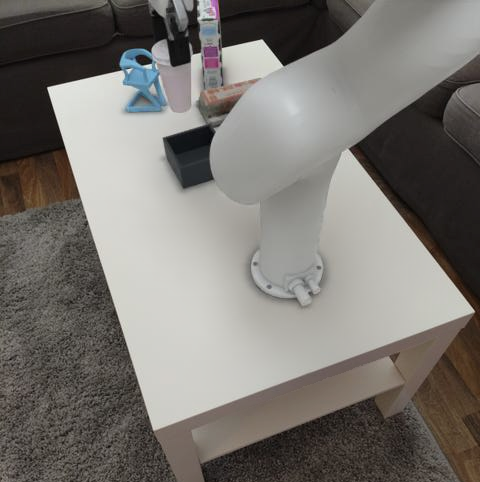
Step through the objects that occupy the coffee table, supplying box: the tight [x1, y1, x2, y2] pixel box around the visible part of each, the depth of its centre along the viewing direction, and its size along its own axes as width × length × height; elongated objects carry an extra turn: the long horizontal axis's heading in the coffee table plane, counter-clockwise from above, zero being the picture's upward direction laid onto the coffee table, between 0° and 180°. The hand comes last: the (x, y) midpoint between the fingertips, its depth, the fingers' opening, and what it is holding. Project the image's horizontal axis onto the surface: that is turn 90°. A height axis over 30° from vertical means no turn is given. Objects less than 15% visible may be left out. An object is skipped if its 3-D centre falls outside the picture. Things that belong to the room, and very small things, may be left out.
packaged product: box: [195, 77, 263, 128], centre depth 102 cm, size 18×5×10 cm
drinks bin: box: [161, 123, 217, 190], centre depth 91 cm, size 11×11×5 cm
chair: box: [119, 48, 167, 113], centre depth 100 cm, size 8×8×12 cm
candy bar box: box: [196, 0, 224, 91], centre depth 103 cm, size 11×5×16 cm, turn 3°
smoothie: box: [151, 39, 194, 114], centre depth 70 cm, size 6×6×14 cm
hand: (172, 52), depth 69 cm, fingers closed on smoothie, 6 cm apart
